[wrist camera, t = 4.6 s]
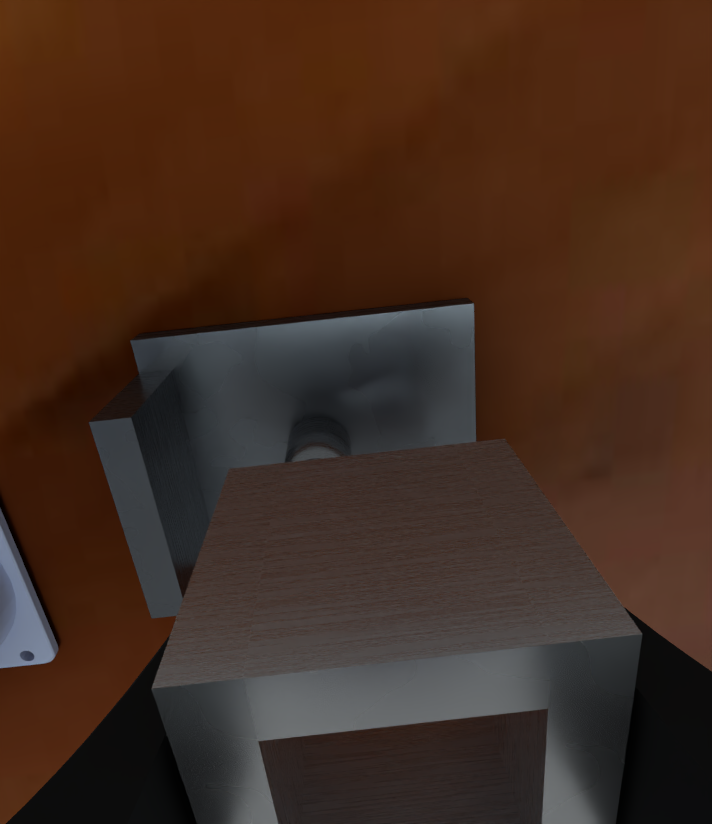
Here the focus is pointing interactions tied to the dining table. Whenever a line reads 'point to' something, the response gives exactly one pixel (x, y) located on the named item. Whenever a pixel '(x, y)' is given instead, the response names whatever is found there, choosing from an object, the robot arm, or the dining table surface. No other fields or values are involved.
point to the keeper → (272, 414)
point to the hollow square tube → (397, 649)
